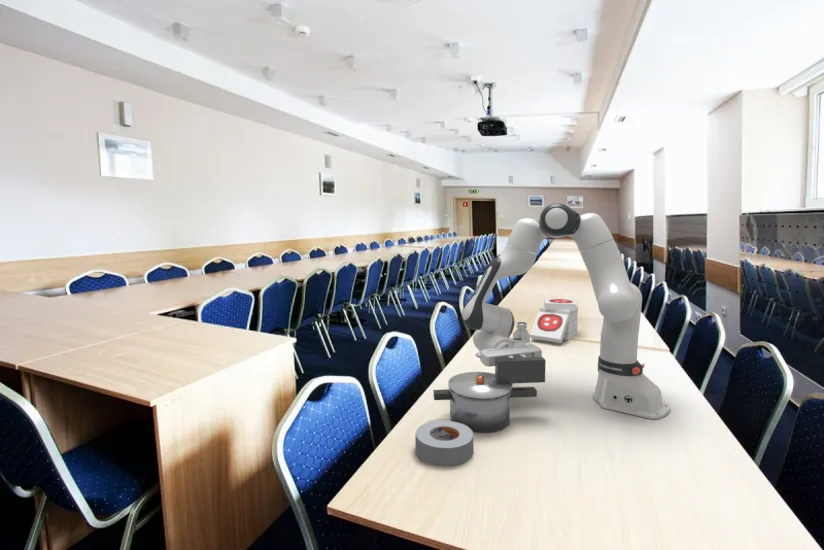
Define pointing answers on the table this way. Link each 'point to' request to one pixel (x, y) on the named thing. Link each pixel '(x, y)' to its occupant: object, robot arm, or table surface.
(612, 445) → the table surface
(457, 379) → the lid
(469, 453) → the tape roll
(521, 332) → the plastic bottle
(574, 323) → the pizza boxes
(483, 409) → the cooker pot
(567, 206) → the robot arm
